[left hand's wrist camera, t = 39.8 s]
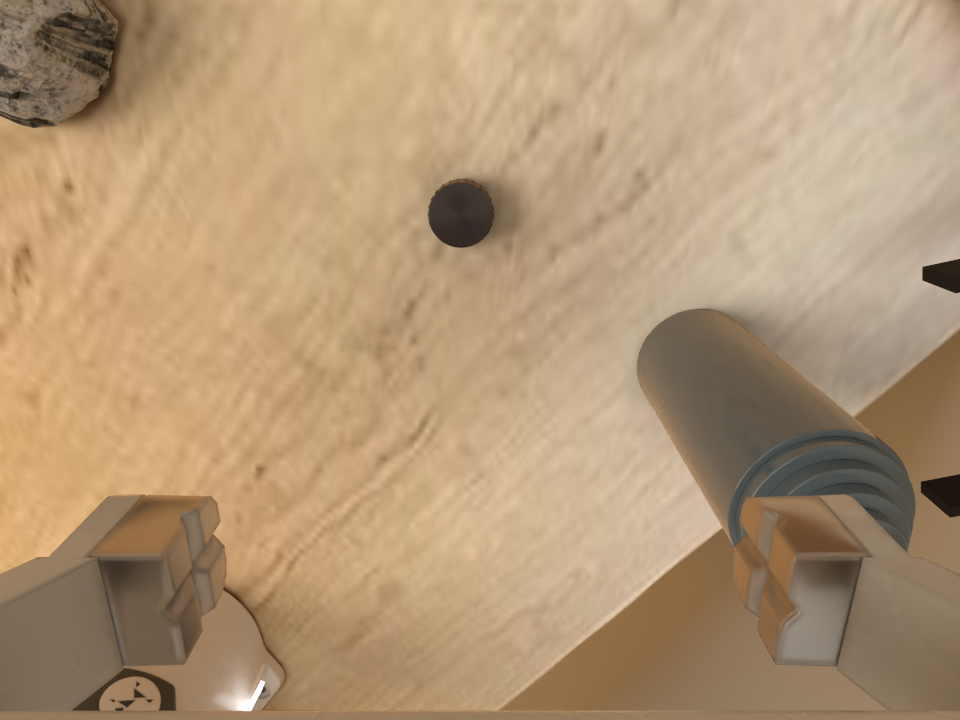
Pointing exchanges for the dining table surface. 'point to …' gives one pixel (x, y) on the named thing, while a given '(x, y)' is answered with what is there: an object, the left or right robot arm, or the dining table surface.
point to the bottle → (763, 426)
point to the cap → (461, 213)
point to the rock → (53, 58)
